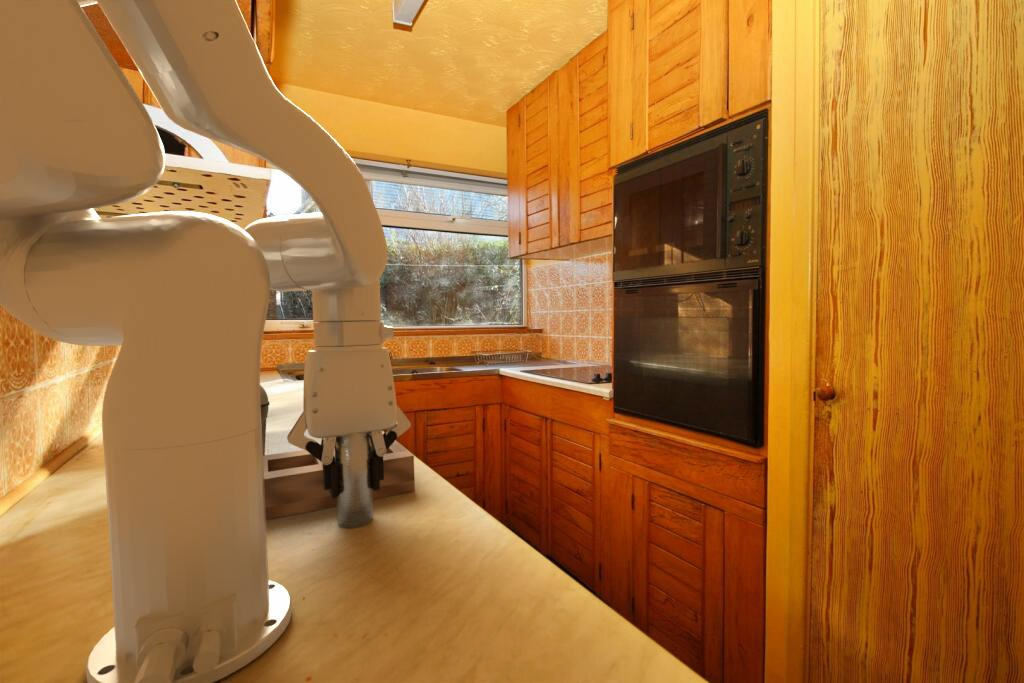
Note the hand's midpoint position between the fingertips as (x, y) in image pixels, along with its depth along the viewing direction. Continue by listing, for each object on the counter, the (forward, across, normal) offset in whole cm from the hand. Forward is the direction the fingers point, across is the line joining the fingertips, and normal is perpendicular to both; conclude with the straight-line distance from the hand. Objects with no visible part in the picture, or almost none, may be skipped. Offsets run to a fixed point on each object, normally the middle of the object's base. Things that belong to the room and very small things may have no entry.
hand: (354, 489), depth 56 cm
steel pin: (+4, 0, 0) cm, 4 cm away
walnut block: (+4, +1, -12) cm, 13 cm away
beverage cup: (+4, +12, -24) cm, 27 cm away
